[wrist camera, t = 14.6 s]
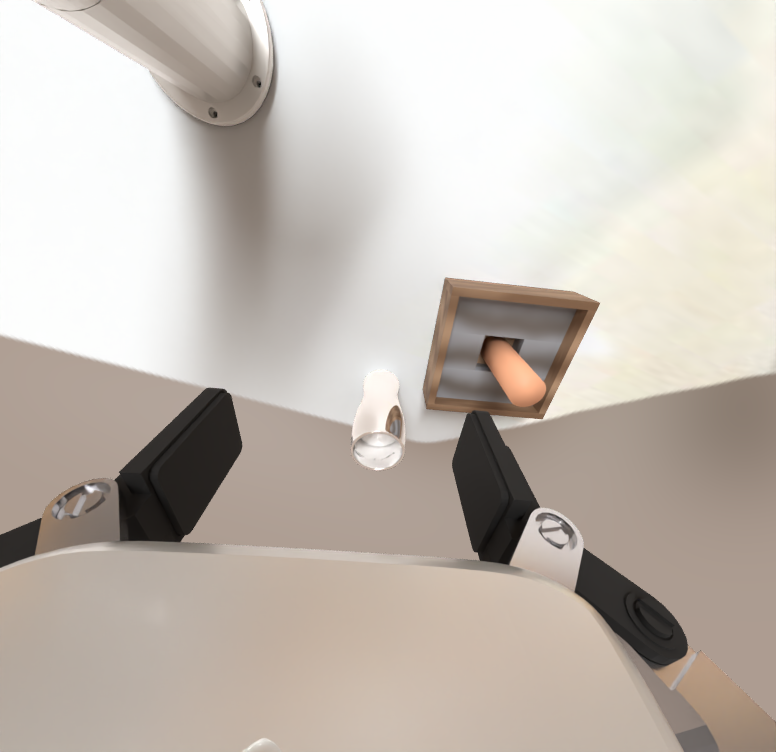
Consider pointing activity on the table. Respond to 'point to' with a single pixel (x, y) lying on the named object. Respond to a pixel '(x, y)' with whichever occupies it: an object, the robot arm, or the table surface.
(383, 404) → the beer glass
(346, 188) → the table surface
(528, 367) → the peg
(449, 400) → the bore box
